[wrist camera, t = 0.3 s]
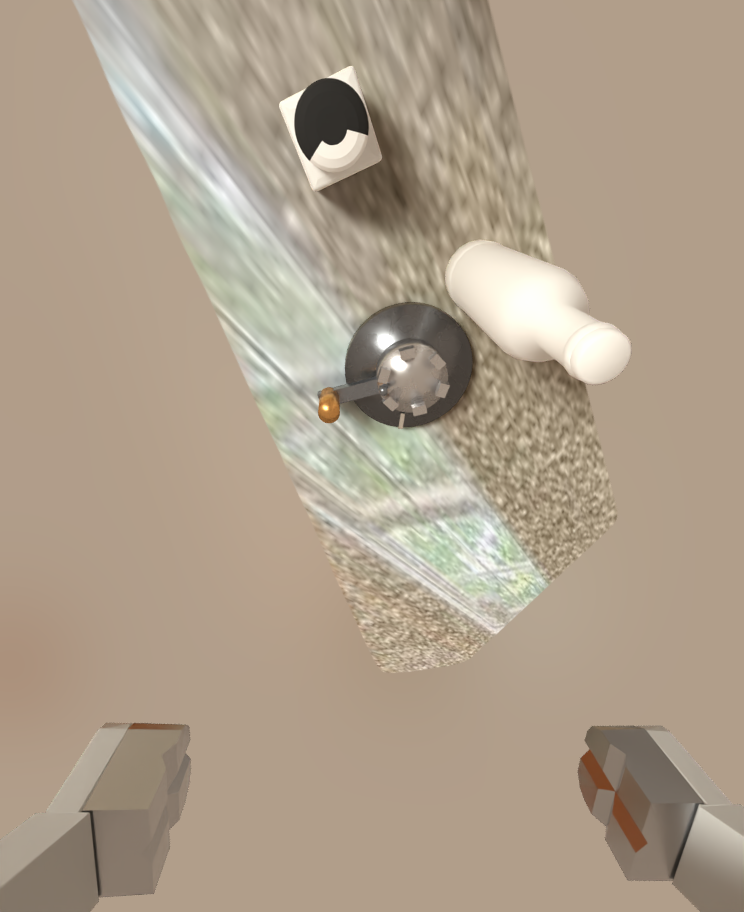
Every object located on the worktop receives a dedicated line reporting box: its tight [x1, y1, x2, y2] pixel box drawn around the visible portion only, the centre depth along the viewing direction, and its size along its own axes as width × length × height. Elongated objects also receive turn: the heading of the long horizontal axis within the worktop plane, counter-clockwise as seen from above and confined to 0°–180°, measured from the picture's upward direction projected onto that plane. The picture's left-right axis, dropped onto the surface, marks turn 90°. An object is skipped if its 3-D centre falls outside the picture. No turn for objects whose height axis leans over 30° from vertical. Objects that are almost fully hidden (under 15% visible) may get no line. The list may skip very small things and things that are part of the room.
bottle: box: [445, 239, 632, 385], centre depth 39 cm, size 8×8×30 cm
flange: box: [345, 302, 472, 429], centre depth 57 cm, size 17×17×2 cm
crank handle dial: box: [318, 338, 450, 423], centre depth 54 cm, size 17×9×6 cm, turn 104°
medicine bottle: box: [279, 66, 382, 192], centre depth 39 cm, size 7×7×12 cm
